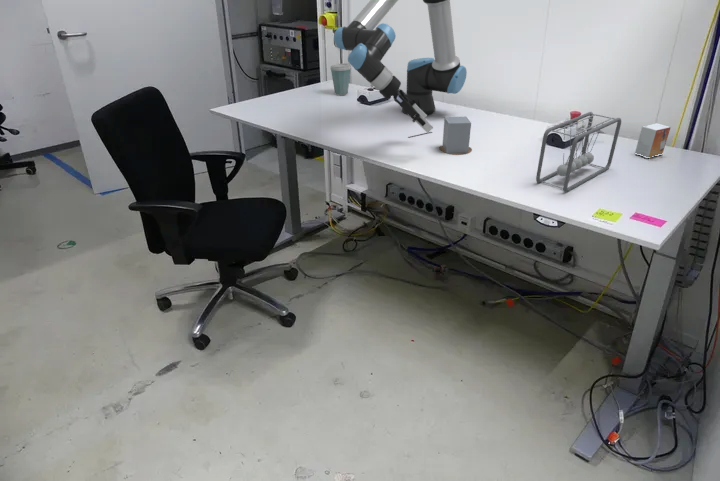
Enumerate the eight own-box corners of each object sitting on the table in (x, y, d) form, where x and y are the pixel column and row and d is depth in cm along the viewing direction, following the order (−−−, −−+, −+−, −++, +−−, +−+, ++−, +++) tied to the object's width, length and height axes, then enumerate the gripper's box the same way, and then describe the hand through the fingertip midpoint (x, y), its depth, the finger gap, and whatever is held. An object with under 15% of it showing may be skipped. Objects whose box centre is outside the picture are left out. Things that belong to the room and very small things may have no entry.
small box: (647, 159, 178) (656, 130, 173) (633, 154, 182) (641, 126, 177) (662, 155, 181) (671, 126, 176) (648, 150, 186) (656, 122, 180)
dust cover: (442, 145, 191) (444, 116, 186) (463, 145, 191) (466, 116, 186) (446, 153, 184) (448, 123, 179) (468, 152, 184) (471, 122, 179)
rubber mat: (431, 132, 207) (431, 131, 206) (450, 140, 198) (450, 139, 198) (407, 138, 201) (407, 137, 201) (426, 146, 192) (426, 145, 192)
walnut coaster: (456, 143, 195) (456, 141, 195) (478, 152, 186) (478, 150, 186) (432, 149, 190) (432, 147, 189) (453, 158, 181) (453, 157, 181)
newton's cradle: (564, 194, 154) (576, 137, 145) (534, 184, 161) (543, 129, 152) (610, 168, 171) (623, 116, 163) (581, 160, 178) (591, 110, 169)
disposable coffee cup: (329, 96, 259) (327, 66, 252) (333, 91, 268) (332, 61, 261) (349, 97, 258) (348, 66, 250) (353, 91, 267) (352, 62, 259)
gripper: (375, 82, 187) (415, 120, 195) (380, 101, 165) (424, 143, 173) (390, 66, 184) (429, 106, 192) (397, 83, 163) (441, 127, 171)
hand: (427, 124), depth 183 cm, fingers open, 13 cm apart
